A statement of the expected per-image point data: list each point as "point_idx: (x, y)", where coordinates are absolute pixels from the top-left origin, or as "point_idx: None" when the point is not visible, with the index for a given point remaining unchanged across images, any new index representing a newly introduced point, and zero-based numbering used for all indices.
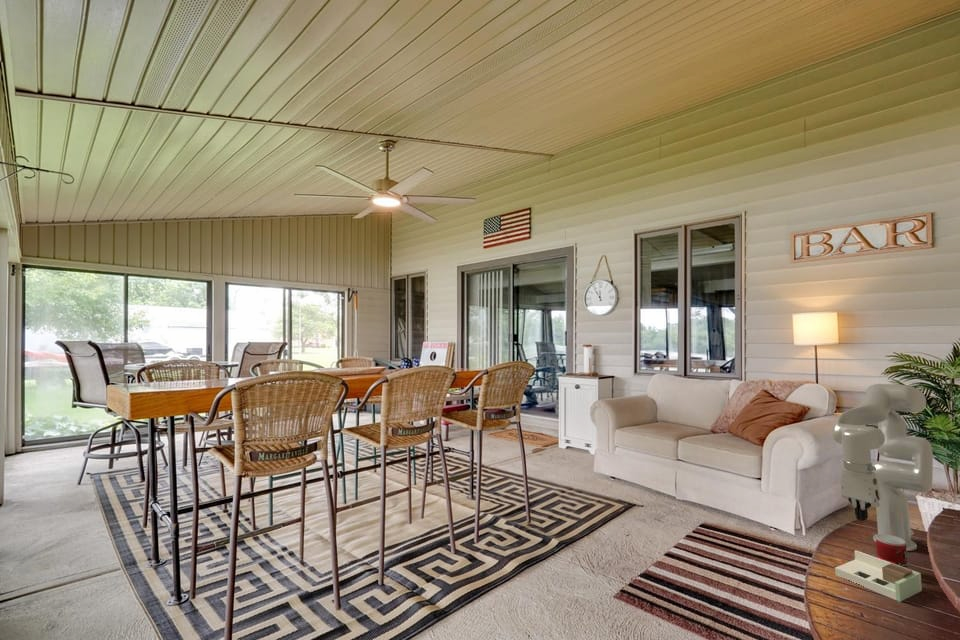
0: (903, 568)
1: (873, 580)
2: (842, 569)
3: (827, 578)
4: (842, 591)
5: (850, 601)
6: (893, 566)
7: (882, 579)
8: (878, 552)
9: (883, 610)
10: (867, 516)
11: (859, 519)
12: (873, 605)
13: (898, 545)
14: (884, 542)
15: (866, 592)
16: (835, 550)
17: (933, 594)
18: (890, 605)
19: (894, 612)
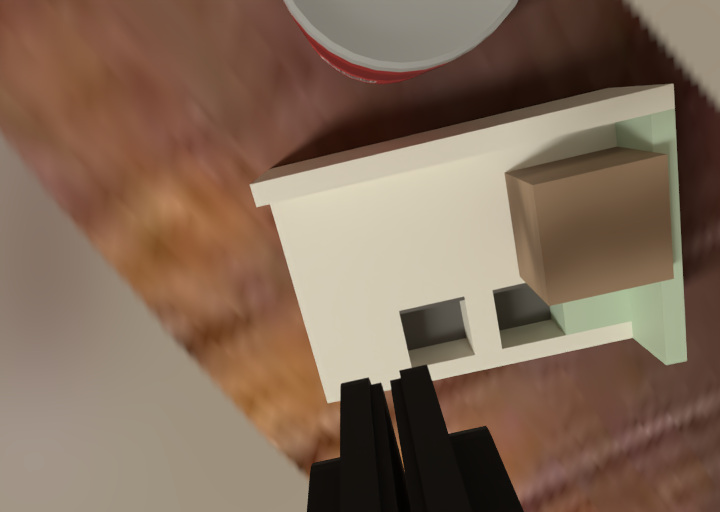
0: (619, 180)
1: (496, 322)
2: None
3: None
4: None
5: (533, 506)
6: (571, 220)
7: (517, 277)
8: (346, 69)
9: (636, 444)
10: (491, 442)
11: (407, 491)
12: (593, 448)
13: None
14: (424, 66)
15: (506, 382)
16: (45, 99)
17: (658, 65)
18: (625, 382)
19: (666, 417)
